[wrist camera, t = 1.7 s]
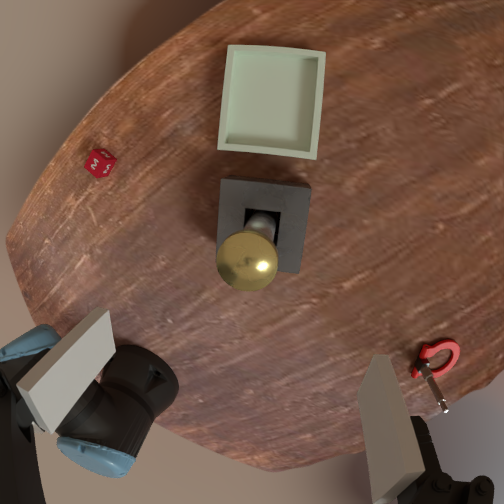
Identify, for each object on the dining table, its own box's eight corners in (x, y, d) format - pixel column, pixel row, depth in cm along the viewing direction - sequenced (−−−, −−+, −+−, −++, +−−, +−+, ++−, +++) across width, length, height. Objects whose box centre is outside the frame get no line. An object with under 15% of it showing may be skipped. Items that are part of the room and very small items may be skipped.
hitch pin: (245, 233, 39) (215, 286, 24) (248, 197, 38) (218, 229, 22) (281, 237, 39) (273, 295, 24) (286, 201, 37) (281, 237, 22)
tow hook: (463, 336, 41) (422, 339, 41) (497, 382, 28) (454, 392, 29) (447, 372, 43) (407, 377, 44) (473, 419, 31) (430, 429, 32)
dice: (104, 148, 38) (92, 149, 35) (117, 159, 38) (106, 160, 35) (95, 165, 39) (83, 166, 36) (108, 176, 39) (96, 178, 36)
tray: (222, 149, 36) (217, 149, 34) (232, 50, 31) (228, 44, 29) (314, 159, 35) (316, 159, 33) (323, 58, 30) (325, 52, 28)
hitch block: (224, 249, 40) (215, 262, 36) (229, 175, 37) (220, 178, 32) (298, 259, 39) (299, 273, 35) (309, 184, 36) (311, 189, 31)
